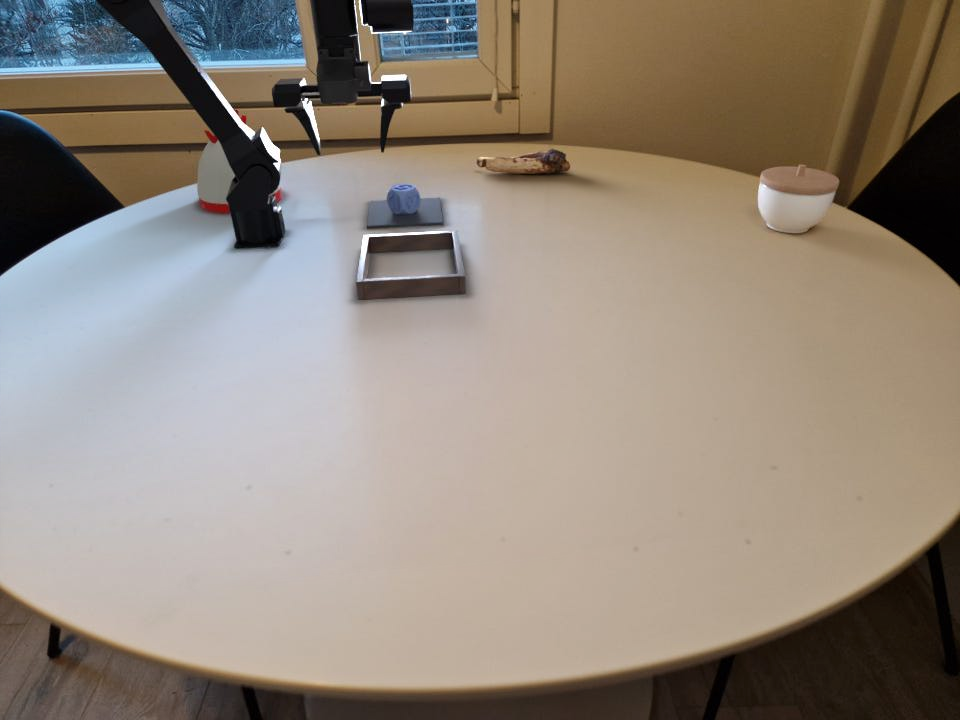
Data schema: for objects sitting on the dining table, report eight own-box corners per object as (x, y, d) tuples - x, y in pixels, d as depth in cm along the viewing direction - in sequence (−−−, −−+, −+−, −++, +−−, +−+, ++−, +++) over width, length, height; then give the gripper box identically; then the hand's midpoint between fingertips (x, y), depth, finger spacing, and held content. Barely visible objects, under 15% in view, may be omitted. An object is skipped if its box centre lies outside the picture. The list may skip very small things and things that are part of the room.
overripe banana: (568, 166, 130) (479, 163, 132) (570, 142, 128) (479, 140, 129) (570, 179, 122) (475, 176, 124) (572, 153, 120) (475, 150, 121)
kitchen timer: (298, 195, 117) (283, 107, 109) (237, 218, 107) (215, 124, 99) (246, 183, 123) (228, 100, 115) (183, 204, 113) (159, 115, 105)
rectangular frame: (358, 299, 82) (355, 282, 80) (365, 251, 95) (363, 235, 93) (465, 293, 82) (465, 276, 81) (458, 246, 96) (457, 230, 94)
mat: (367, 228, 102) (366, 225, 102) (370, 203, 112) (370, 200, 112) (443, 224, 103) (442, 222, 103) (439, 199, 113) (439, 197, 113)
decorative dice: (387, 211, 107) (385, 187, 105) (405, 205, 110) (403, 182, 108) (403, 217, 105) (401, 192, 103) (421, 210, 108) (420, 186, 105)
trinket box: (748, 234, 98) (762, 172, 93) (752, 210, 106) (764, 152, 101) (826, 243, 94) (845, 179, 89) (824, 218, 103) (840, 158, 98)
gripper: (253, 44, 79) (277, 172, 88) (406, 40, 80) (415, 166, 89) (269, 34, 88) (289, 150, 97) (406, 30, 90) (414, 145, 98)
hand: (351, 153), depth 95 cm, fingers open, 9 cm apart
